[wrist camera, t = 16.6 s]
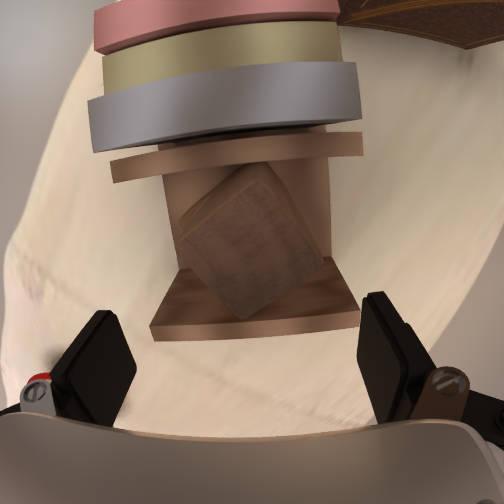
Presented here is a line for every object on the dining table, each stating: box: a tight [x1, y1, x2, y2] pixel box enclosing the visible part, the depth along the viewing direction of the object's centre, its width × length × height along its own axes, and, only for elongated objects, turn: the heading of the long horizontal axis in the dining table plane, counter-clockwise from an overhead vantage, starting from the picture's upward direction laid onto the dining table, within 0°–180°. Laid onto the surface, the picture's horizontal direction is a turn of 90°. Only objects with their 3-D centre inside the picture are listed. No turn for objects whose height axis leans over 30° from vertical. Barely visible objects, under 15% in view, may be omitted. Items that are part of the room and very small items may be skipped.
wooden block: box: [175, 161, 324, 319], centre depth 21 cm, size 9×4×18 cm, turn 128°
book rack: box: [88, 0, 363, 341], centre depth 21 cm, size 16×25×16 cm, turn 6°
